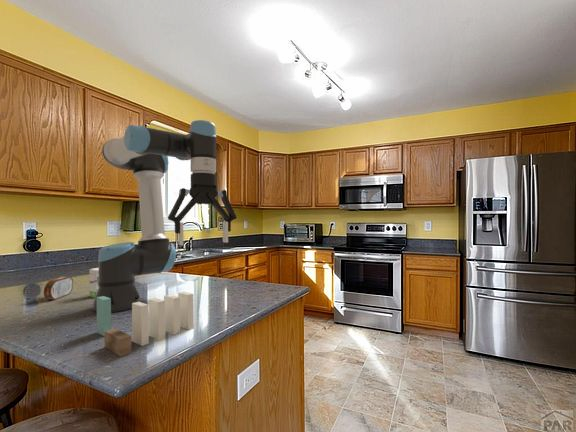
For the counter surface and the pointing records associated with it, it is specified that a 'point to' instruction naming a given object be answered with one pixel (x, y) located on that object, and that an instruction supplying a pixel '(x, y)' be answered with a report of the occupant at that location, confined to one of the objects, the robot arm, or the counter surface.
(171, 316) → the ivory domino
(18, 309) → the counter surface
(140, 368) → the counter surface
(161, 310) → the ivory domino
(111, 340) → the walnut block
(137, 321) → the ivory domino
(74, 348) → the counter surface
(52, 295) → the tin
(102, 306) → the teal domino
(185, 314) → the ivory domino
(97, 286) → the ink box
